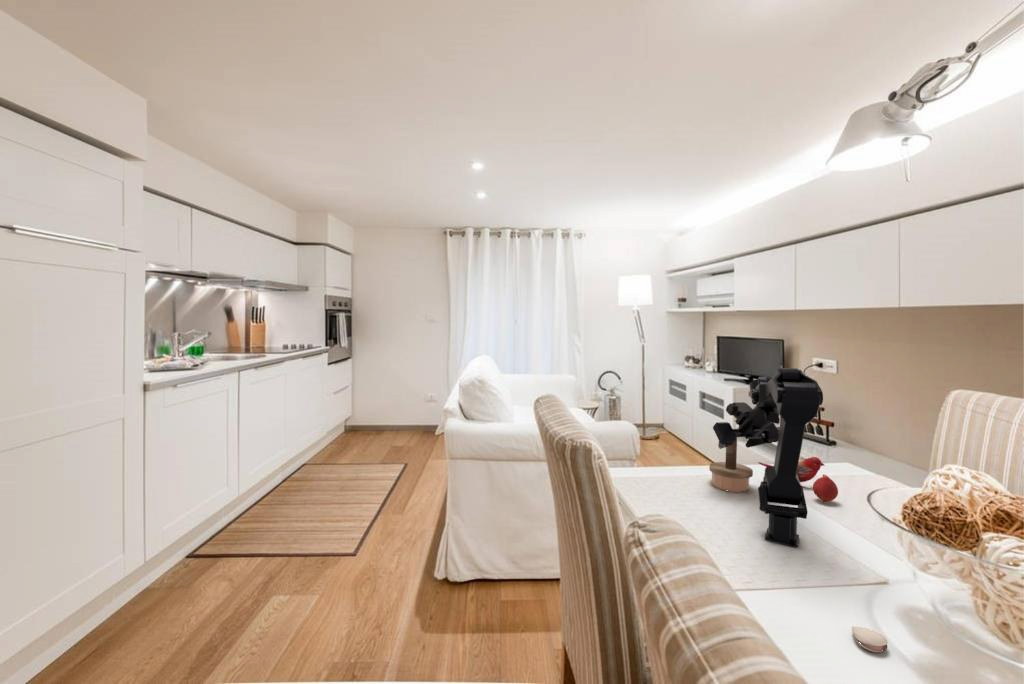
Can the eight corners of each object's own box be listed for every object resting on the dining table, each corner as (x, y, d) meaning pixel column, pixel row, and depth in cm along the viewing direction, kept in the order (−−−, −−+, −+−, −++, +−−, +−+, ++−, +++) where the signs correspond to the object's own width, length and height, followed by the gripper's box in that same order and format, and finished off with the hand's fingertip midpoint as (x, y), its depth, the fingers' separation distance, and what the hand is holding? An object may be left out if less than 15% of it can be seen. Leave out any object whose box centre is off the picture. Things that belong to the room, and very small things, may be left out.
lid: (749, 481, 130) (750, 443, 130) (705, 473, 137) (706, 436, 137) (755, 470, 140) (756, 434, 140) (713, 463, 147) (714, 429, 146)
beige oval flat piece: (870, 658, 68) (871, 642, 68) (840, 635, 73) (841, 620, 73) (894, 654, 69) (894, 638, 69) (863, 632, 74) (863, 617, 74)
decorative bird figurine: (824, 492, 134) (826, 459, 134) (757, 483, 142) (758, 451, 141) (823, 489, 137) (824, 456, 136) (756, 480, 144) (757, 449, 144)
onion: (829, 498, 129) (830, 471, 129) (842, 507, 124) (843, 478, 123) (808, 498, 130) (809, 470, 130) (819, 506, 124) (821, 477, 124)
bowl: (745, 494, 132) (746, 479, 132) (709, 487, 138) (709, 472, 138) (750, 484, 140) (751, 470, 140) (715, 478, 146) (716, 464, 146)
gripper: (774, 394, 133) (747, 423, 144) (717, 395, 130) (694, 425, 141) (794, 426, 126) (765, 454, 137) (734, 428, 122) (709, 457, 134)
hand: (732, 446), depth 137 cm, fingers open, 9 cm apart
